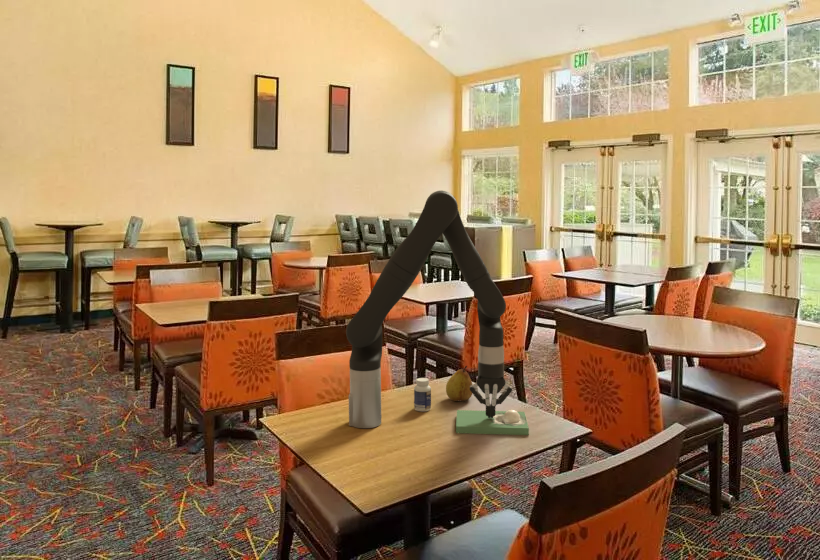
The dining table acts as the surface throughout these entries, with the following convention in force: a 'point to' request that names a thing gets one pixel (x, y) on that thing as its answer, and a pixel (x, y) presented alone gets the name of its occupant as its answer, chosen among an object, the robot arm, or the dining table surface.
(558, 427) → the dining table surface
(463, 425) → the green flat block
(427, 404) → the pill bottle
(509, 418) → the ball
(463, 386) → the fruit
